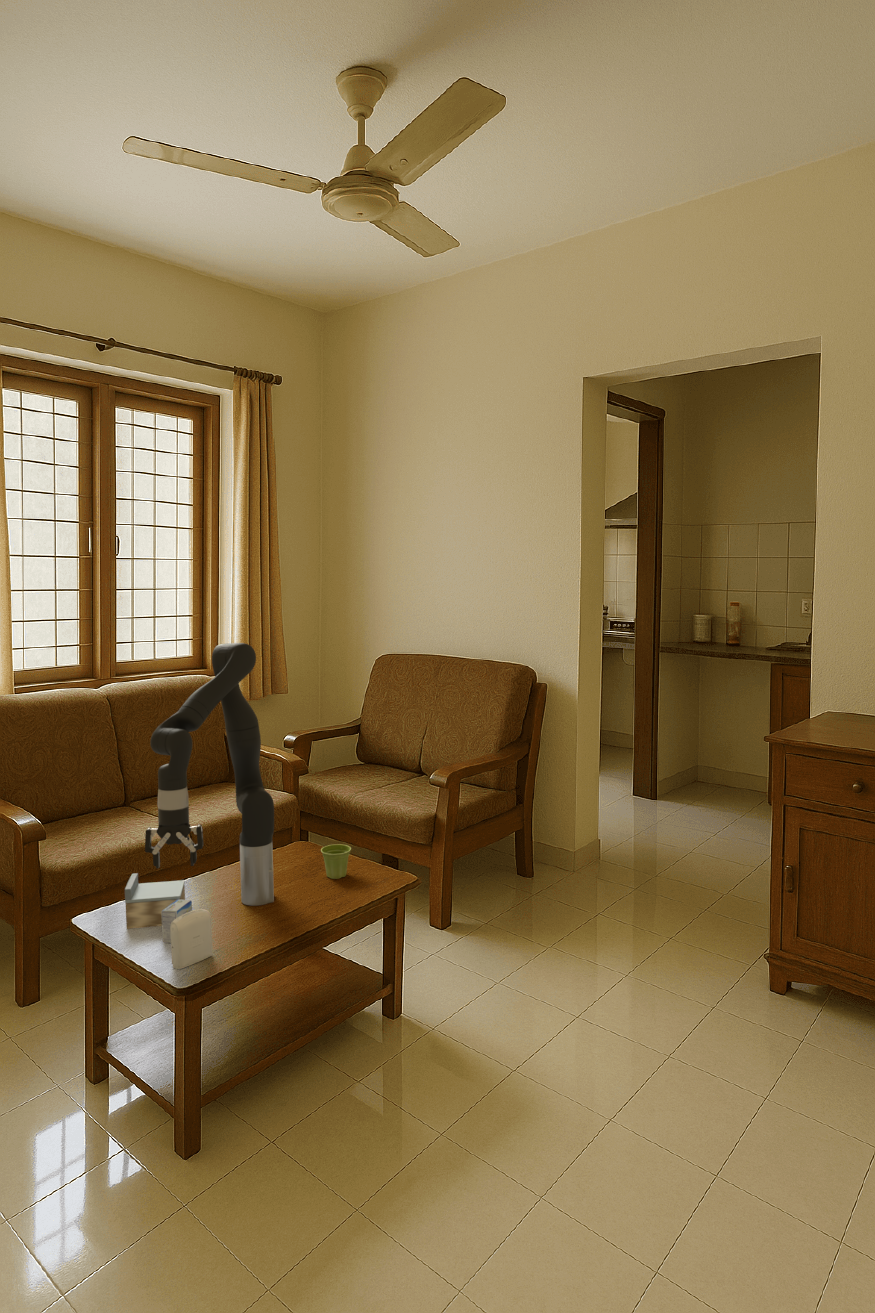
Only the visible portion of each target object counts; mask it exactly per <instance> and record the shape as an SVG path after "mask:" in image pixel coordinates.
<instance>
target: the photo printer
mask: <svg viewBox="0 0 875 1313" xmlns="http://www.w3.org/2000/svg"><path fill="white" fill-rule="evenodd" d="M212 928H213V924H212V916H211V913H210V911H209V910H207V909H202V908H200V909H194V910H193V909H192V911H190V912H187V913H185V914H183V915H181V916H179V917H178V918H176V919H175V920H174V921H173V922H172V923H171V925H170V934H171V943H170V950H171V951H170V953H171V954H170V955H171V965H172V967H173V969H175V970H181V969H184V968H187V967H189V966H191V965H195V964H197V963H199V962H201V961H203V960H205V959H208V958H210V957H212V956H213V948H214V946H213V931H212V930H213V929H212Z"/></svg>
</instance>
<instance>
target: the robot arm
mask: <svg viewBox="0 0 875 1313" xmlns="http://www.w3.org/2000/svg"><path fill="white" fill-rule="evenodd" d="M211 654H212V655H211V664H212V665H211V666H212V670H213V675H214V677H213V678H211V680H209V681H208V682H206V683H205V684H202V686H200V687H199V688H198V689H196V690H195V691H194V692H193V693H191V695H190V696H188V698H187V699H186V700H185V701H184V703H183V704H182V705H181V707H180V708H179V709H178V710H177V711H176V712H175V713H173V714H172V715H171V716H170V717H169V718H167V719H166V720H164V721H163V722H162V723H160V724H159V725H158V726H157V727H156V728H155V730H154V731H153V732H152V734H151V737H150V742H149V744H150V748H151V750H152V751H153V752H154V753H155V754H158V755H163V756H170V759H169V762H168V763H166V764H163V765H160V767H159V768H158V770H157V779H158V780H157V784H158V790H157V791H158V792H157V802H156V803H157V814H158V815H157V818H158V819H157V820H158V825H157V828H155V827H153V828H152V827H150V826H148V827H147V828H146V830H145V832H144V833H145V835H144V836H145V837H144V839H145V840H144V842H145V843H144V852H145V853H147V854H148V853H150V854H152V862H153V863H152V865H153V867H155V869H160V867H161V859H160V858H161V856H160V853H161V852H160V850H161V849H162V848H163V846H164V845H165V844H167V845H168V846H170V845H174V844H175V845H180V844H183V845H184V846H185V847H187V848H188V849H189V850H190V852H189V855H190V856H189V857H190V860H189V861H190V867H194V866H195V864H196V863H197V860H198V859H197V854H198V852H197V851H198V850H203V848H204V844H205V842H204V834H203V826H202V824H201V823H198V824H197V825H191V824H190V809H189V808H190V806H189V805H190V804H189V791H188V777H187V776H188V775H187V771H188V767H189V764H190V758H191V756H192V750H193V744H194V743H193V738H192V734H190V732H195V731H197V730H198V729H199V728H201V726H202V725H203V723H204V722H205V721H206V720H207V718H208V717H209V715H210V714H211V713H212V712H213V711H214V709H215V708H216V707H217V706H218V705H219V703H220V702H221V707H222V713H223V714H222V715H223V719H224V725H225V727H224V728H225V733H226V738H227V739H226V740H227V744H228V750H229V755H230V759H231V763H232V767H233V773H234V779H235V780H234V782H235V785H234V786H235V801H236V802H235V803H236V808H237V809H238V811H239V812H240V814H241V832H240V834H239V864H240V867H239V868H240V870H239V871H240V897H241V898H240V899H241V901H240V902H241V903H242V904H244V905H246V906H252V907H253V906H255V907H256V906H262V905H263V906H264V905H267V904H270V903H274V902H275V894H274V888H275V887H274V860H273V859H274V858H273V856H274V855H273V854H274V853H273V835H274V831H275V803H274V800H273V797H272V795H271V794H270V793H269V792H268V791H266V790H265V787H264V783H263V780H262V775H261V768H260V758H261V757H260V756H261V751H262V750H261V747H262V743H261V741H262V740H261V733H260V732H261V731H260V726H259V719H258V717H257V714H256V713H255V711H254V710H253V707H252V706H251V705H250V703H249V702H248V700H247V699H246V698H245V696H244V694H243V692H242V690H241V688H240V683H241V681H243V679H245V678H246V677H247V676H248V675H249V674H250V673H251V672H252V671H253V670H254V667H255V666H256V661H257V655H256V651H255V649H254V648H253V646H251V645H250V644H248V643H245V642H233V643H221V644H218V645H216V646H215V647H214V649H213V651H212V653H211ZM191 832H193V834H194V835H196V840H197V842H196V844H195V842H194V841H193V840H192V838H191V837H189V835H190V833H191ZM155 834H157V836H158V837H159V838H160V839H159V841H158V842H157V844H156V845H155V846H152V839H153V837H155Z"/></svg>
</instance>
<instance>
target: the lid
mask: <svg viewBox="0 0 875 1313" xmlns="http://www.w3.org/2000/svg"><path fill="white" fill-rule="evenodd" d="M185 883H186V882H185V879H181V880H171V881H169V880H168V881H157V882H156V881H155V882H142V883H141V882H140V883H139V873H138V872H137V873H134V872H133V873H132V874H131V876H130V877H129V879H128V881H127V883H126V886H125V887H124V903H125V904H126V903H135V902H148V901H160V900H173V899H180V898H181V894H182V891H183V887H184V885H185Z"/></svg>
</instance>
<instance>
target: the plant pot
mask: <svg viewBox="0 0 875 1313" xmlns="http://www.w3.org/2000/svg"><path fill="white" fill-rule="evenodd" d="M351 850H352V847H351V846H349V845H347V844H340V843H339V844H338V843H337V844H329V845H326V846H323V847H321V849H320V852H321V854H322V857H323V862H324V867H325V874H326V877H327V878H329V879H332V880H339V879H341V878H345V877H346V876H347V872H348V862H349V856H350V853H351V852H352V851H351Z"/></svg>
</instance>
